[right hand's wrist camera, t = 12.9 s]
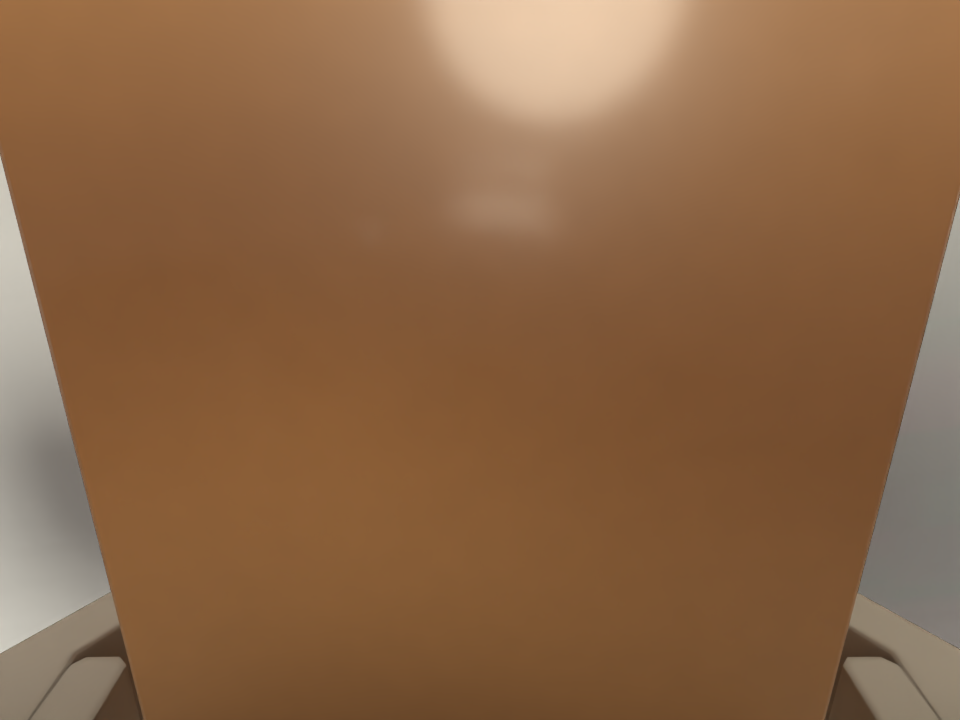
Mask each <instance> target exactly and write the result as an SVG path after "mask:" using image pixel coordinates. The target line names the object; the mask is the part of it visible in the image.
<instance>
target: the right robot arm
mask: <svg viewBox="0 0 960 720" xmlns="http://www.w3.org/2000/svg"><path fill="white" fill-rule="evenodd" d="M0 720H144V719H143V715H142V711H141V707H140V703H139V700H138V696H137V692H136V688H135V684H134V680H133V676H132V672H131V668H130V664H129V660H128V656H127V652H126V648H125V644H124V640H123V636H122V633H121V629H120V625H119V621H118V617H117V613H116V609H115V605H114V601H113V597H112V593H111V592H110V593H108V594H106V595H105V596H103V597H101V598H99V599H97V600H96V601H94V602H92V603H90V604H88V605H87V606H85V607H83V608H81V609H79V610H78V611H76V612H74V613H72V614H71V615H69V616H67V617H65V618H63V619H62V620H60V621H58V622H56V623H54V624H53V625H51V626H49V627H47V628H45V629H44V630H42V631H40V632H38V633H36V634H35V635H33V636H31V637H29V638H27V639H26V640H24V641H22V642H20V643H19V644H17V645H15V646H13V647H11V648H10V649H8V650H6V651H4V652H2V653H1V654H0ZM825 720H960V649H958V648H957V647H955V646H953V645H951V644H949V643H948V642H946V641H944V640H942V639H940V638H939V637H937V636H935V635H933V634H931V633H930V632H928V631H926V630H924V629H922V628H920V627H919V626H917V625H915V624H913V623H911V622H910V621H908V620H906V619H904V618H902V617H901V616H899V615H897V614H895V613H893V612H892V611H890V610H888V609H886V608H884V607H883V606H881V605H879V604H877V603H875V602H874V601H872V600H870V599H868V598H866V597H865V596H863V595H861V594H859V593H857V596H856V600H855V604H854V608H853V612H852V616H851V620H850V624H849V627H848V631H847V635H846V639H845V643H844V647H843V651H842V655H841V658H840V662H839V666H838V670H837V674H836V678H835V682H834V686H833V689H832V693H831V697H830V701H829V705H828V709H827V713H826V717H825Z"/></svg>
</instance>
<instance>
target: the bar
mask: <svg viewBox="0 0 960 720" xmlns="http://www.w3.org/2000/svg"><path fill="white" fill-rule="evenodd" d="M0 156H1V160H2V163H3V167H4V171H5V175H6V179H7V183H8V187H9V191H10V195H11V199H12V203H13V207H14V211H15V215H16V219H17V223H18V227H19V230H20V234H21V238H22V242H23V246H24V250H25V254H26V258H27V262H28V266H29V270H30V274H31V278H32V282H33V286H34V290H35V294H36V297H37V301H38V305H39V309H40V313H41V317H42V321H43V325H44V329H45V333H46V337H47V341H48V345H49V349H50V353H51V357H52V361H53V364H54V368H55V372H56V376H57V380H58V384H59V388H60V392H61V396H62V400H63V404H64V408H65V412H66V416H67V420H68V424H69V428H70V431H71V435H72V439H73V443H74V447H75V451H76V455H77V459H78V463H79V467H80V471H81V475H82V479H83V483H84V487H85V491H86V495H87V499H88V502H89V506H90V510H91V514H92V518H93V522H94V526H95V530H96V534H97V538H98V542H99V546H100V550H101V554H102V558H103V562H104V566H105V569H106V573H107V577H108V581H109V585H110V589H111V593H112V597H113V601H114V605H115V609H116V613H117V617H118V621H119V625H120V629H121V633H122V636H123V640H124V644H125V648H126V652H127V656H128V660H129V664H130V668H131V672H132V676H133V680H134V684H135V688H136V692H137V696H138V700H139V703H140V707H141V711H142V715H143V719H144V720H825V717H826V713H827V709H828V705H829V701H830V697H831V693H832V689H833V686H834V682H835V678H836V674H837V670H838V666H839V662H840V658H841V655H842V651H843V647H844V643H845V639H846V635H847V631H848V627H849V624H850V620H851V616H852V612H853V608H854V604H855V600H856V596H857V592H858V589H859V585H860V581H861V577H862V573H863V569H864V565H865V561H866V558H867V554H868V550H869V546H870V542H871V538H872V534H873V530H874V526H875V523H876V519H877V515H878V511H879V507H880V503H881V499H882V495H883V492H884V488H885V484H886V480H887V476H888V472H889V468H890V464H891V460H892V457H893V453H894V449H895V445H896V441H897V437H898V433H899V429H900V426H901V422H902V418H903V414H904V410H905V406H906V402H907V398H908V394H909V391H910V387H911V383H912V379H913V375H914V371H915V367H916V363H917V360H918V356H919V352H920V348H921V344H922V340H923V336H924V332H925V328H926V325H927V321H928V317H929V313H930V309H931V305H932V301H933V297H934V294H935V290H936V286H937V282H938V278H939V274H940V270H941V266H942V262H943V259H944V255H945V251H946V247H947V243H948V239H949V235H950V231H951V228H952V224H953V220H954V216H955V212H956V208H957V204H958V200H959V196H960V0H0Z"/></svg>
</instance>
